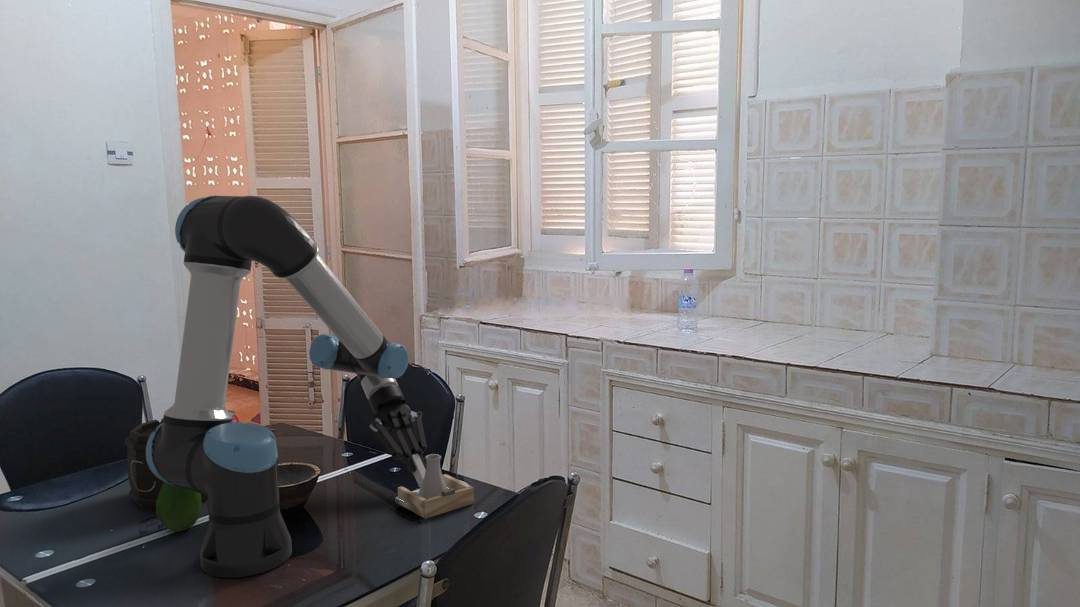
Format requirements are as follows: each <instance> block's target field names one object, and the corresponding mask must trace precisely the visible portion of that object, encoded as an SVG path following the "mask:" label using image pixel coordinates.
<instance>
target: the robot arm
mask: <svg viewBox="0 0 1080 607" xmlns="http://www.w3.org/2000/svg"><path fill="white" fill-rule="evenodd" d="M174 226H175V228H174V234H175V240H176V243H178V244H179V246H180V249H181V250H182V251H183V252H184V256H183V257H184V258H183V265H184V267H185V268H186V269H187V271H188V272H189V273H190V282H189V288H188V290H189V291H188V296H187V303H186V304H187V305H186V313H185V320H184V326H183V335H182V343H181V351H180V358H179V366H178V372H177V379H176V388H175V397H174V403H173V405H171V406H170V407H169V408H168V409H166V410H165V411H164V412H163V415H162V416H163V417H162V419H163V423H162V424H160V425H159V426H158V427H157V428H156V430H155V431H154V432H152V434H151V435H150V437H149V439H148V442H147V446H146V460H147V463H148V466H149V468H150V470H151V471H152V473H153V474H154V475H155V476H156V477H158V478H159V479H161V480H163V481H165V482H166V483H168V484H170V485H172V486H176V487H179V488H185V489H188V490H191V491H195V492H198V493H201V494H205V495H207V496H208V500H207V509H208V524H207V528H206V531H205V535H204V538H203V542H202V546H201V549H200V551H199V553H200V554H199V555H200V557H199V558H200V568H201V570H202V571H203V572H204V573H206V574H207V575H209V576H211V577H216V578H217V577H218V578H222V579H225V578H226V579H228V578H229V579H234V578H243V577H250V576H254V575H255V576H256V575H258V574H263V573H265V572H268V571H271V570H273V569H276V568H278V567H279V566H281V565H282V564H284V563H286V562H287V560H288V559H289V558H290V557H291V555H292V553H293V547H292V545H293V544H292V537H291V535H290V533H289V530H288V528H287V525H286V523H285V520H284V518H283V516H282V514H281V510H280V509H281V508H280V489H279V488H280V486H279V482H280V481H279V462H278V460H279V457H278V456H279V451H278V447H277V441H276V439H277V438H276V436H275V434H274V433H273V431H272V430H270V429H269V428H268V427H266V426H264V425H262V424H258V423H255V422H245V423H244V422H242V421H241V422H240V421H239V422H232V415H231V414H230V413H229V412H228V411H229V410H228V409H227V408H226V400H227V399H226V398H227V392H228V385H229V375H230V369H231V368H230V367H231V360H232V359H231V358H232V354H233V353H232V352H233V344H234V336H235V329H236V328H235V327H236V320H237V314H238V313H237V312H238V305H239V298H240V297H239V296H240V290H241V289H240V288H241V283H242V280H243V279H244V278H246V276H248V275H249V274H250V273H251V270H252V264H253V262H256V263H258V264H261V265H263V266H264V267H266V268H267V269H269V271H270V273H272V274H273V275H274V277H276V278H278V279H285V281H286V282H287V283H288V284H289V285H290V286H291V287H292V288H293V289H294V291H295V292H296V293H297V294H298V295H299V297H300V298H302V300H303V301H304V302H305V303H306V304H307V305H308V307H310V309H311V310H312V311H313V312H314V313H315V315H317V317H318V318H319V319H320V320H321V321H322V323H323V324H325V325H326V327H327V328H328V329H329V330H330V331H331V332H332V334H327V333H321V334H318V335H317V336H315V337H314V339H313V340H312V341H311V343H310V348H309V351H308V354H309V355H308V356H309V360H310V362H311V363H312V364H313V365H314V366H315V367H317V368H320V369H323V370H329V371H331V370H332V371H337V372H344V373H351V374H355V375H356V376H357V378H358V380H359V383H360V385H361V387H362V390H363V391H364V394H365V397H366V399H367V400H368V404H369V405H370V407H371V410H372V412H373V414H374V420H372V421H371V424H370V425H369V427H368V429H369V431H371V432H372V433H373V434H374V435H376V437H377V439H378V440H379V441H380V442H381V444H382V445H383V446H384V447H385V449H386V450H387V452H388V453H389V454H390V456H391V457H392V459H393V460H395V461H396V462H397V461H401V463H402V464H405V466H406V468H407V471H408V472H409V474H412V475H413V476H414V478H415V480H416V483H417V485H418V487H419V488H421V486H422V483H423V479H424V476H425V472H426V461H425V457H424V456H423V455H424V453H425V451H426V450H427V449H428V445H427V440H426V435H425V430H424V429H425V428H424V425H423V422H422V419H423V412H422V411H421V410H418V411H417V412H415V411H413V410H412V409H411V408H410V406H409V405H407V402H406V400H405V396H404V394H403V392H402V389H401V388H400V386H399V383H398V382H397V379H398V378H400V377H401V376H403V375H404V373H405V372H406V370H407V368H408V367H409V366H408V365H409V363H410V362H409V360H410V358H409V357H410V356H409V353H408V350H407V349H406V347H405V346H404V345H403V344H399V343H396V342H393V341H392V342H390V341H389V340H388V339H387V337H385V335H384V334H383V333H382V331H381V330H379V328H378V326H376V324H375V323H374V322H373V320H371V318H370V317H369V316H368V314H367V313H366V312H365V311H364V309H363V308H362V307H361V306H360V304H359V303H358V302H357V300H355V298H354V296H352V294H351V293H350V292H349V291H348V289H347V288H346V287H345V286H344V285H343V283H342V282H341V281H340V280H339V278H338V277H337V275H335V273H334V272H333V270H331V269H330V267H329V266H328V264H327V263H326V262H325V261H324V260H323V258H322V256H320V254H319V253H318V252H319V246H318V243H317V241H315V240H314V238H313V237H312V236H311V235H310V233H309V232H308V231H307V229H305V227H304V226H303V225H302V224H300V222H299V221H297V219H296V218H295V217H293V216H292V215H291V214H290V213H289V212H287V211H286V210H285V209H284V208H282V207H281V206H280V205H279V204H277V203H275V202H273V201H271V200H270V199H267V198H265V197H261V196H255V195H239V196H238V195H209V196H206V197H200V198H196V199H193V200H192V201H190V202H189V203H188V204H186V205H185V206H184V207H183V208H182V210H181V211H180V213H179V214H178V215H177V219H176V221H175V225H174ZM231 422H232V423H231ZM410 422H411V423H412V428H413V429H412V428H411V423H410Z"/></svg>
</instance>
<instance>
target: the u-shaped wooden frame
mask: <svg viewBox="0 0 1080 607" xmlns="http://www.w3.org/2000/svg"><path fill="white" fill-rule="evenodd" d="M442 476H443V478H444V481H445V483H446V486H447V487H448V488H449V489H446V490H443V491H442V495H439V496H436V497H432V498H429V499H425V498H423V497H421V496H419V495H418V493H415V492H413V491H411V490H410V489H408V488H406V487H405V486H403V485H401V486H397V503H398V504H399V505H400V506H402V507H404V508H405V509H408V510H409V511H411V512H413V513H414V514H416V515H418V516H419V517H422V519H424V520H425V519H426V520H427V519H429V518H432V517H436V516H439V515H441V514H445V513H448V512H451V511H455V510H457V509H461V508H464V507H467V506H469V505H473V504H475V492H474V491H475V490H474V488H475V487H474V486H472V485H470V484H467V483H465V482H464V481H461V480H459V479H457V478H455V477H453V476H451V475H449V474H447V473H444V474H442ZM398 498H399V499H401V500H403V501H404V502H403V501H401V500H399V499H398ZM406 503H407V504H406Z"/></svg>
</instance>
